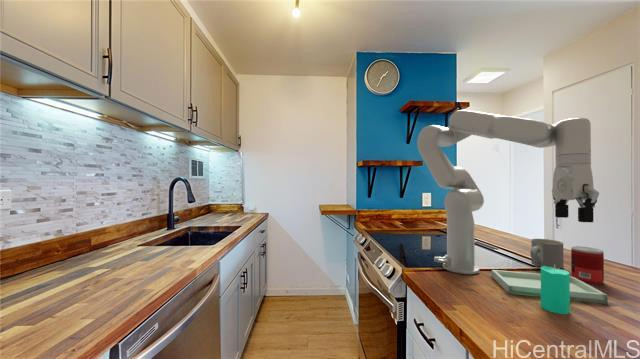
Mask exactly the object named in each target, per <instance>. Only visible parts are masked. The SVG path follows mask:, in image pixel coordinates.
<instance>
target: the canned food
mask: <svg viewBox="0 0 640 359" xmlns="http://www.w3.org/2000/svg"><path fill="white" fill-rule="evenodd" d="M570 252H571V253H570V254H571V255H570V260H571V261H570V262H571V264H570V265H571V266H570V267H571V269H570V271H571V273H570V274H571V275H570V276H573V277H575V278H577V279H578V280H580V281H582V282H584V283H586V284H593V285H603V284H604V282H605V278H604V277H605V276H604V274H605V273H604V272H605V269H604V268H605V266H604V265H605V263H604V262H605V257H604V256H605V254H604V250H602V249H600V248H595V247H589V246H579V245H578V246H577V245H575V246H571V248H570Z"/></svg>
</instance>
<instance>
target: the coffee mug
mask: <svg viewBox="0 0 640 359" xmlns="http://www.w3.org/2000/svg"><path fill="white" fill-rule="evenodd" d="M530 248H531V249H530V253H529V254H530V258H531V264H532V265H533V264H534V265H533V266H535V265H536V267H538V266H541V267H543V266H547V267H552V268H554V264H555V268H563V269H564V242H563V241H559V240H555V239H548V238H532V239H531V247H530ZM541 267H540V268H541Z"/></svg>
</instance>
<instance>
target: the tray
mask: <svg viewBox="0 0 640 359" xmlns="http://www.w3.org/2000/svg"><path fill="white" fill-rule="evenodd" d="M491 277H492V279H493V280H494V281H496V283H498V285H499V286H501V287H502V289H504V291H505V292H507V293H508V294H509V295H510V294H511V295H518V296H527V297H528V296H529V297H538V298H541V273H538V272H537V273H535V272H534V273H533V272H525V271H524V272H523V271H510V270H500V269H491ZM608 300H609V299H608V294H606V293H605V292H602V291H601V290H599V289H598V288H595V287H594V286H592V285H589V283H585V282H582V281H580V280H578V279H577V278H575V277H573V276H572V275H570V301H577V302H584V303H585V302H586V303H594V304H595V303H596V304H604V305H607V304H609V303H608V302H609V301H608Z"/></svg>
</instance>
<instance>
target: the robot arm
mask: <svg viewBox="0 0 640 359" xmlns="http://www.w3.org/2000/svg"><path fill="white" fill-rule="evenodd" d="M448 124H449V125H448V126H447V127H446V126H441V125H436V124H432V125H427V126H424V127H423V128H422V129H421V131H419V133H418V137H417V141H416V144H417V146H416V147H417V149H418V153H419V154H420V156H421V158H422V159H423V161H424V163H425V164H426V167H427V168H428V170H429V172H430V174H431V175H432V177H433V179H434V180H435V182H436V184H437V186H439V187H440V188H441V189H445V190H446V189H448V190H449V189H450V191H449V192H447V193H446V195H445V198H444V208H445V214H446V254H444V256H434V262H436V263H439V264H442V268H443V269H444V270H446V271H448V272H451V273H455V274H461V275H477V274H479V273H480V268H479V267H478V266H476V264H475V260H476V259H475V258H476V256H475V253H476V252H475V251H476V250H475V219H474V214H473V212H476V211H479V210H481V208H482V207H483V205H484V203H485V200H484V196H483V193H482V191H481V189H480V188H479V187H478V185H477V183H476V182H475V181H474V179H473V178H472V175H471V174H470V173H469V172H468V171H467V170H466V169H465V168H463V167H460V166H458V165H457V166H455V165H453V164H452V162H451V161H450V159H449V158H448V156H447V154H446V153H445V152H444V151H443V150H442V149H441V148H447V147H451V146H454V145H455V144H457V143H459V142H461V141H463V140H465V139H467V138H469V137H471V136H477V137H482V138H486V139H490V140H491V139H496V140H497V139H498V140H503V141H510V142H512V143H518V144H521V145H526V146H531V147H533V148H539V149H540V148H541V149H543V148H549V147H553V146H554V147H555V150H554V152H555V162H554V163H555V168H554V172H553V178H552V190H551V193H552V199H553V200H554V201H553V204H554V207H555V210H554V213H555V214H554V215H555V218H562V219H563V218H564V219H565V218H569V204H568V203H569V201H574V200H576V202H577V203H578V205H579V207H577V221H578V222H579V223H594V209H595V207H596V204H597V202H598V198H599V195H600V192H599V191H598V190H596V189H595V188H594V187H595V186H594V178H593V171H592V155H591V154H592V148H591V147H592V144H591V143H592V142H591V141H592V138H591V136H592V135H591V133H592V130H591V129H592V127H591V126H592V125H591V121H590V119H588V118H586V117H574V118H573V117H572V118H567V119H563V120H560V121H558V122H556V123H555V124H554V123H553V124H550V123H547V122H544V121H540V120H537V119H531V118H523V117H517V116H508V115H501V114H496V113H495V114H494V113H487V112H482V111H474V110H466V109H460V110H456V111H454V112H452V114H451V115H450V116H449V119H448Z"/></svg>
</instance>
